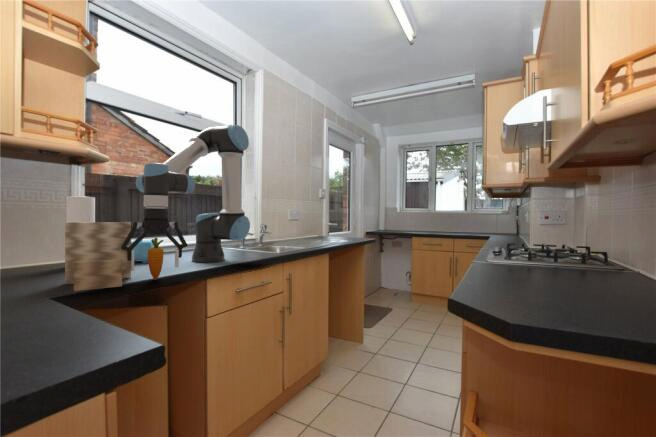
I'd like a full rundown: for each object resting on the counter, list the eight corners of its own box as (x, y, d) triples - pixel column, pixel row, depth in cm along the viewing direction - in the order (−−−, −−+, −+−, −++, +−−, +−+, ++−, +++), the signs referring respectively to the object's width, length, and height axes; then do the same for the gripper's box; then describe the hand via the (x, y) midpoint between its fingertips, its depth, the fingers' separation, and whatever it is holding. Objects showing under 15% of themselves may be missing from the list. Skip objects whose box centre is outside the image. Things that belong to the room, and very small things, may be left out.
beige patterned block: (130, 277, 112) (130, 222, 112) (133, 284, 101) (133, 223, 101) (65, 283, 102) (65, 222, 102) (60, 292, 91) (60, 224, 91)
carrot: (152, 278, 112) (153, 236, 112) (166, 278, 112) (166, 236, 111) (144, 281, 107) (144, 237, 107) (158, 281, 107) (158, 237, 106)
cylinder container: (79, 269, 126) (79, 195, 126) (60, 268, 128) (60, 195, 128) (100, 265, 136) (100, 196, 135) (82, 264, 138) (82, 196, 137)
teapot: (160, 258, 157) (160, 236, 157) (154, 264, 140) (154, 239, 140) (123, 260, 151) (123, 236, 151) (112, 266, 135) (112, 240, 134)
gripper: (191, 208, 119) (191, 264, 119) (112, 207, 105) (112, 270, 105) (196, 208, 113) (195, 267, 113) (112, 206, 99) (112, 273, 99)
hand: (155, 268), depth 109 cm, fingers open, 13 cm apart
